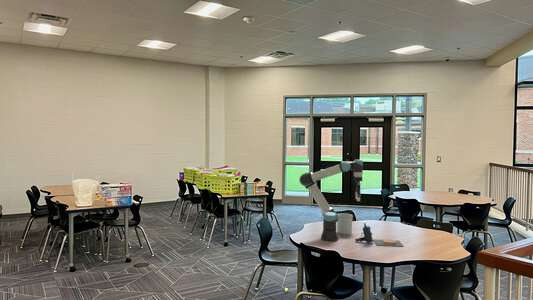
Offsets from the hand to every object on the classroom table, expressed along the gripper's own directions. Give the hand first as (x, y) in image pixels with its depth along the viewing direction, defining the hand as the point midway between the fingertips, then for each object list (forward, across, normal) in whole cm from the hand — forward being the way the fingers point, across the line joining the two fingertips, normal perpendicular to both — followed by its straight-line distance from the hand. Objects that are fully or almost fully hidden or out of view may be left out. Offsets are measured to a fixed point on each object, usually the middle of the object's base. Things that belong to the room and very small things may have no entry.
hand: (357, 200), depth 354 cm
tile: (+33, -15, -21) cm, 42 cm away
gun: (+35, -15, -5) cm, 38 cm away
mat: (+35, -15, -25) cm, 45 cm away
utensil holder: (+35, +18, +10) cm, 41 cm away
